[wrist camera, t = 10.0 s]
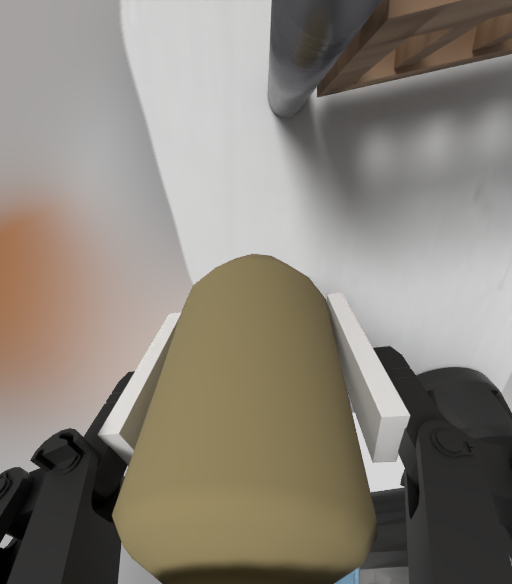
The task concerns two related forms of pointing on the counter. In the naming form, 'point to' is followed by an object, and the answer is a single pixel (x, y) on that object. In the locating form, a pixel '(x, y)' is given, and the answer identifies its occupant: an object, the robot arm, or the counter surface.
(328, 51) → the gate post
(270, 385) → the squeeze bottle
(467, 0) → the gate
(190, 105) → the counter surface
